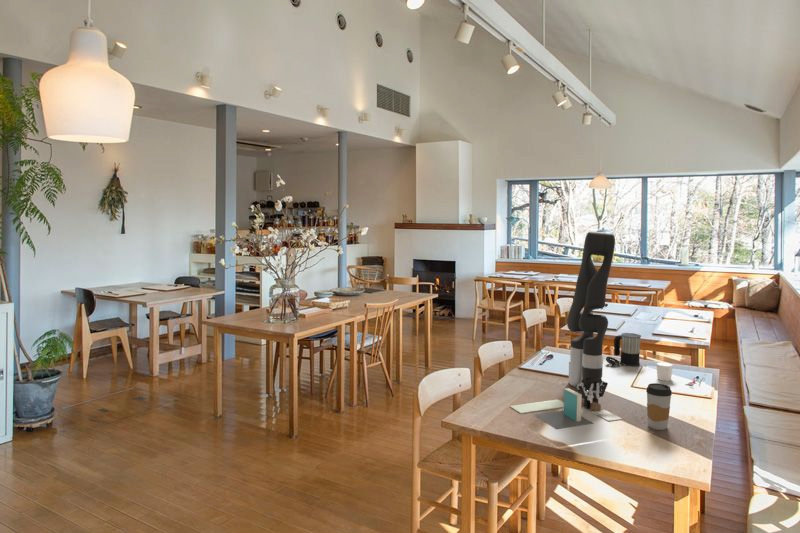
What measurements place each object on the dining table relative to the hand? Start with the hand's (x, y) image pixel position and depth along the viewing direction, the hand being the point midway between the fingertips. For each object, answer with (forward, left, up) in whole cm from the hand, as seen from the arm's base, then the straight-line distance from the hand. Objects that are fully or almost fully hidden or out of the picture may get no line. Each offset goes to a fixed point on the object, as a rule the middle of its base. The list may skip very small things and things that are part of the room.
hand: (591, 407), depth 225 cm
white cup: (-21, +56, -1) cm, 60 cm away
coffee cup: (+23, +11, -1) cm, 26 cm away
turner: (+5, 0, -1) cm, 5 cm away
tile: (+6, -13, 0) cm, 14 cm away
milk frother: (-47, +55, -1) cm, 72 cm away
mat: (+6, -17, -1) cm, 18 cm away
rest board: (-8, -18, -1) cm, 20 cm away
